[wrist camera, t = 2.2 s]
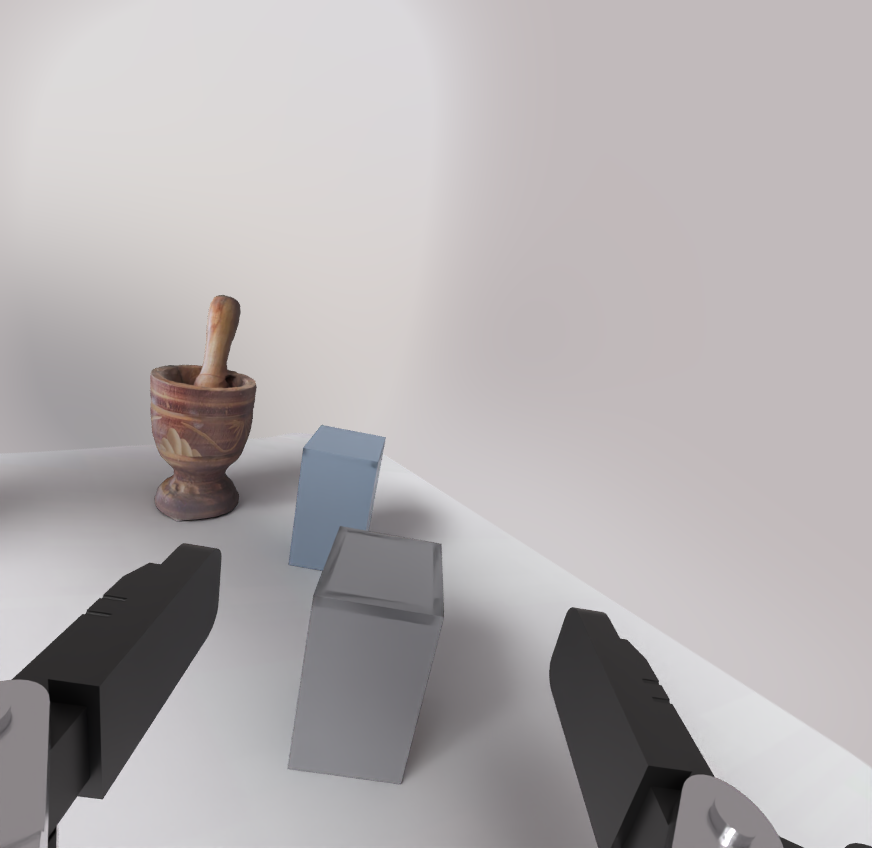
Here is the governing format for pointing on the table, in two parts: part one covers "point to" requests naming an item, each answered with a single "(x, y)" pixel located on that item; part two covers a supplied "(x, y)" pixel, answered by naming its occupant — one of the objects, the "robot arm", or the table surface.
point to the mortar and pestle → (202, 422)
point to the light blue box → (333, 491)
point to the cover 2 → (368, 655)
